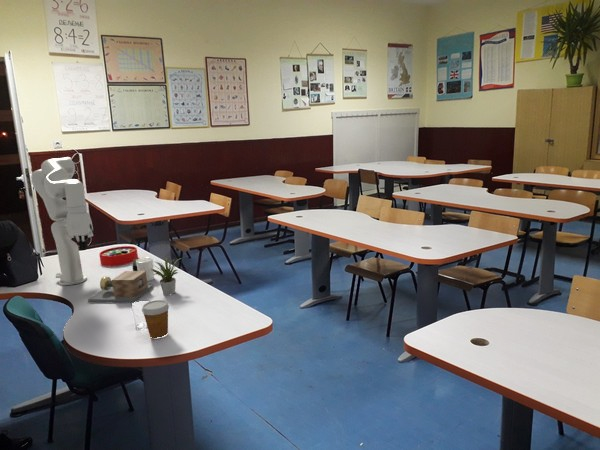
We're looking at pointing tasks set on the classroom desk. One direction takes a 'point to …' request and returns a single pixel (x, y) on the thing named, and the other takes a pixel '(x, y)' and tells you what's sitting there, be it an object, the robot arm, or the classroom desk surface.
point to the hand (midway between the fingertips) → (83, 249)
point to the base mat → (109, 297)
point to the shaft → (107, 283)
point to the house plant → (167, 277)
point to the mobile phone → (134, 265)
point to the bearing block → (129, 284)
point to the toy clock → (118, 256)
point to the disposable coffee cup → (156, 317)
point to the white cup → (146, 267)
